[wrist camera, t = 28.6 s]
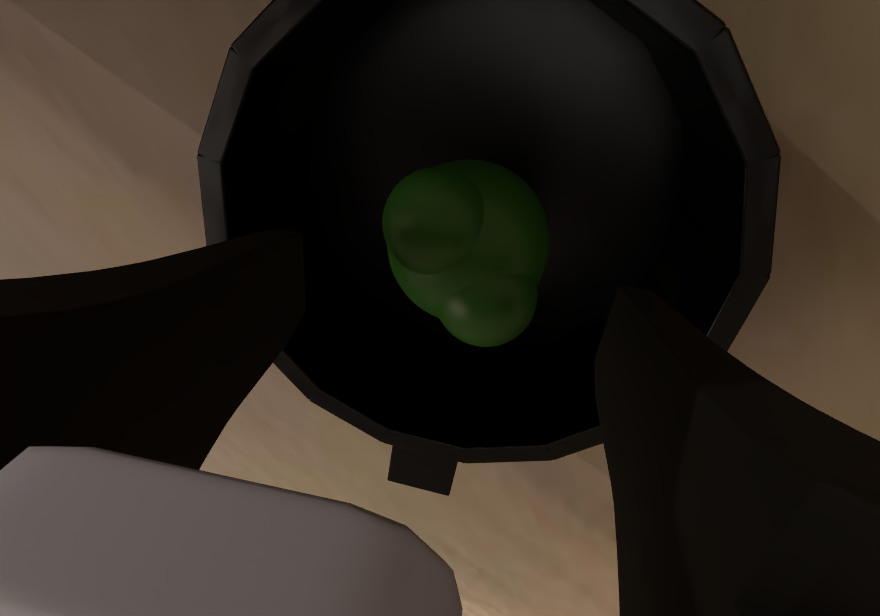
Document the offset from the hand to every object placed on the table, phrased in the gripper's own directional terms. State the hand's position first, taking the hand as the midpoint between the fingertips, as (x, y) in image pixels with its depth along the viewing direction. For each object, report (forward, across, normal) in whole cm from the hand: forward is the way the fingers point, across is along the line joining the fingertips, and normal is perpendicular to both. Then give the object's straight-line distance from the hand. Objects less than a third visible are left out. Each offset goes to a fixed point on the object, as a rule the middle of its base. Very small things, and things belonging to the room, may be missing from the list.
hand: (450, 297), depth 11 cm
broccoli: (+7, 0, 0) cm, 7 cm away
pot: (+8, 0, 0) cm, 8 cm away
